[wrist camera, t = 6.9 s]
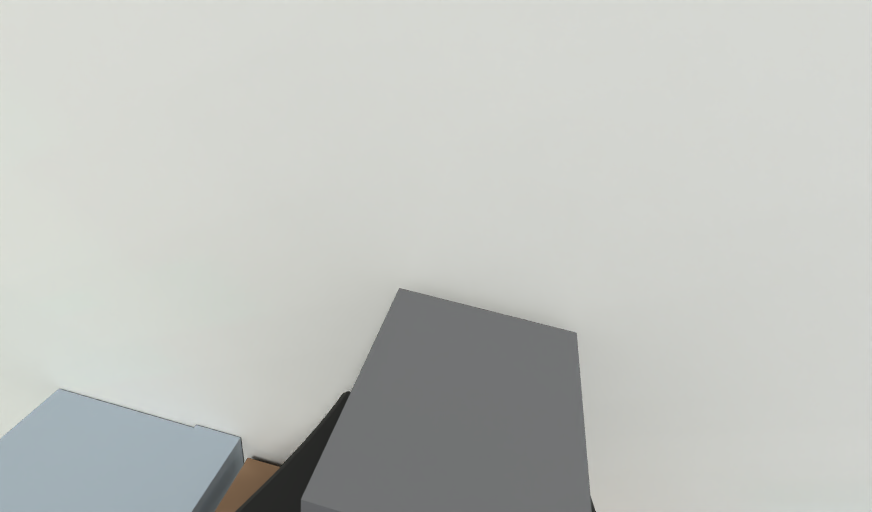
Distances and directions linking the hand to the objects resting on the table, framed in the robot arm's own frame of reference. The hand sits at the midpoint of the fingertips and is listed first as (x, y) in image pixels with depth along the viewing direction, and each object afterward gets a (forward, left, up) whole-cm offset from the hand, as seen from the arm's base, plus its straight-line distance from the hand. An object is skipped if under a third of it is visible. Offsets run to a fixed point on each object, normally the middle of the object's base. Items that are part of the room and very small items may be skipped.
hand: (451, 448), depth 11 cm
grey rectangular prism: (0, 0, -1) cm, 1 cm away
